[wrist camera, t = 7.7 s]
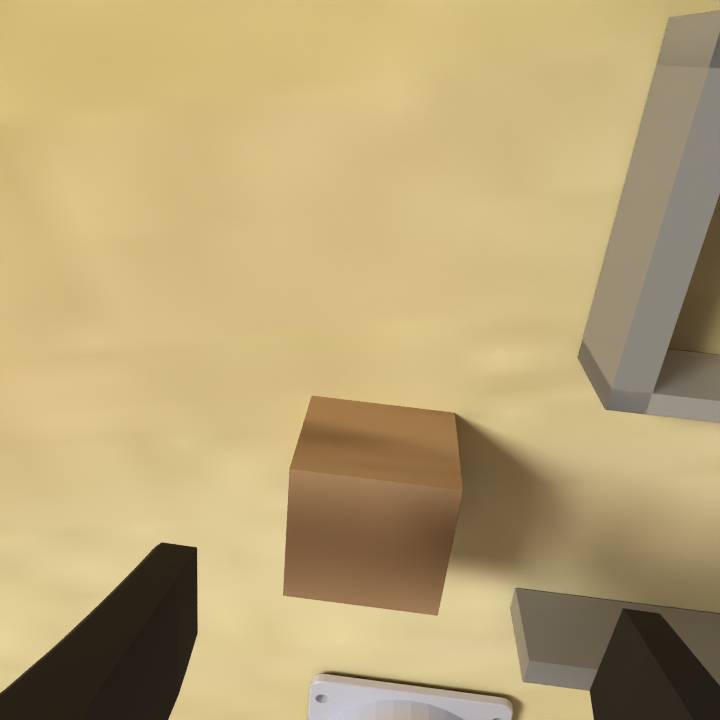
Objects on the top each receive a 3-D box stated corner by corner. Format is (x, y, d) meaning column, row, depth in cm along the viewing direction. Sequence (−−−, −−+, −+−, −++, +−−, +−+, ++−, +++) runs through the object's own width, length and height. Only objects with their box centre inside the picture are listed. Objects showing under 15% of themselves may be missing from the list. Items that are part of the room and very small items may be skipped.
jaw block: (433, 522, 22) (437, 615, 18) (304, 506, 22) (282, 595, 18) (454, 411, 20) (463, 490, 16) (312, 394, 20) (289, 468, 16)
